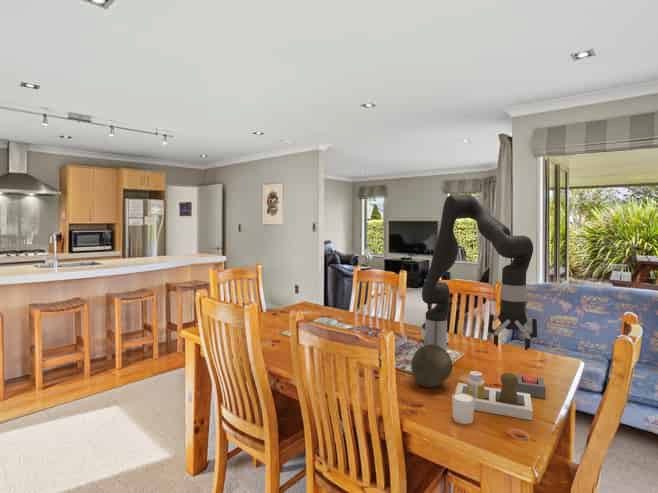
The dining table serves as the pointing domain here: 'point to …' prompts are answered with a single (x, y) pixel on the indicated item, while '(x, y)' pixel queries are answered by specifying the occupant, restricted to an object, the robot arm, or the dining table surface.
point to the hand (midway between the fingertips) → (511, 347)
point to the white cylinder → (463, 407)
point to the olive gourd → (509, 389)
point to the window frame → (498, 407)
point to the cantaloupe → (431, 365)
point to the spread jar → (424, 333)
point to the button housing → (531, 387)
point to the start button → (530, 379)
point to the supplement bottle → (475, 385)
